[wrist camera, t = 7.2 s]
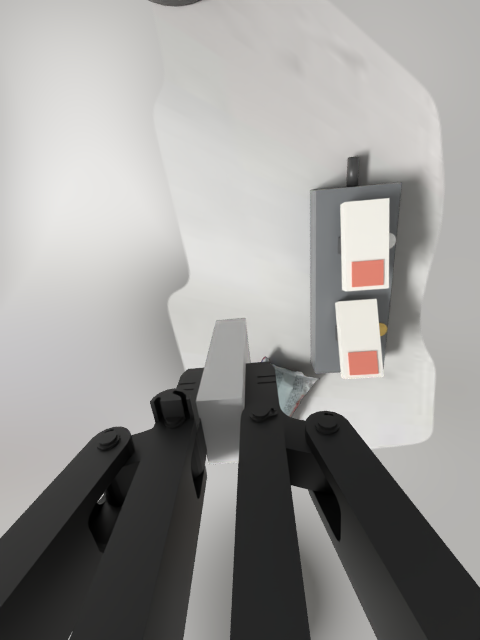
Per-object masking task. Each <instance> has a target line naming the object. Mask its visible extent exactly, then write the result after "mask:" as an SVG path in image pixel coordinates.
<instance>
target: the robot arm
mask: <svg viewBox="0 0 480 640" xmlns="http://www.w3.org/2000/svg"><path fill="white" fill-rule="evenodd" d="M149 1H151V2H154V3H157V4H161V5H167V6H182V5H188V4H191V3H194V2H197V1H199V0H149ZM150 404H151V408H152V411H153V414H154V419H155V425H154V427H153V428H152V429H150V430H147V431H144V432H141V433H138V434H134V435H131V434H130V432H129V430H128V429H127V428H124V427H112V428H109V429H106V430H104V431H102V432H100V433H98V434H97V435H96V436H95V437H93V438H92V439H91V440H90V441H89V442H88V444H87V445H86V446H85V447H84V448H83V449H82V450H81V451H80V452H79V453H78V454H77V456H76V457H75V458H74V459H73V460H72V461H71V462H70V463H69V464H68V465H67V466H66V468H65V469H64V470H63V471H62V472H61V473H60V474H59V475H58V476H57V477H56V478H55V479H54V481H53V482H52V483H51V484H50V485H49V486H48V487H47V488H46V489H45V490H44V491H43V493H42V494H41V495H40V496H39V497H38V498H37V499H36V500H35V501H34V502H33V503H32V505H31V506H30V507H29V508H28V509H27V510H26V511H25V513H23V514H22V515H21V516H20V518H19V519H18V520H17V521H16V522H15V523H14V524H13V525H12V526H11V527H10V528H9V530H8V531H7V532H6V533H5V534H4V535H3V536H2V537H1V538H0V640H68V638H69V636H70V635H71V637H70V639H69V640H183V637H184V630H185V623H186V616H187V610H188V603H189V596H190V589H191V582H192V575H193V569H194V562H195V555H196V548H197V541H198V535H199V528H200V521H201V514H202V507H203V500H204V493H205V487H206V480H207V473H206V467H205V461H206V455H207V458H208V463H209V464H218V463H235V462H239V464H238V484H237V485H238V486H237V506H236V526H235V547H234V568H233V569H234V570H233V589H232V610H231V631H230V633H231V635H230V640H311V639H310V631H309V624H308V616H307V608H306V601H305V592H304V585H303V577H302V569H301V562H300V554H299V546H298V538H297V531H296V523H295V515H294V507H293V500H292V492H291V485H293V486H297V487H301V488H305V489H308V491H309V494H310V496H311V498H312V500H313V503H314V505H315V507H316V509H317V511H318V513H319V515H320V518H321V520H322V522H323V524H324V526H325V528H326V530H327V533H328V535H329V537H330V539H331V541H332V543H333V545H334V548H335V550H336V552H337V554H338V556H339V558H340V560H341V562H342V565H343V567H344V569H345V571H346V573H347V575H348V577H349V580H350V582H351V584H352V586H353V588H354V590H355V592H356V594H357V596H358V599H359V601H360V603H361V605H362V607H363V610H364V612H365V614H366V616H367V618H368V620H369V622H370V624H371V626H372V629H373V631H374V633H375V635H376V637H377V639H378V640H480V587H479V586H478V585H477V584H476V582H475V581H474V580H473V579H472V577H471V576H470V575H469V573H468V572H467V571H466V570H465V569H464V567H463V566H462V565H461V563H460V562H459V561H458V560H457V559H456V557H455V556H454V554H453V553H452V552H451V551H450V549H449V548H448V547H447V546H446V545H445V543H444V542H443V541H442V539H441V538H440V537H439V536H438V534H437V533H436V532H435V530H434V529H433V528H432V527H431V526H430V524H429V523H428V522H427V520H426V519H425V518H424V516H423V515H422V514H421V513H420V512H419V510H418V509H417V508H416V506H415V505H414V504H413V503H412V501H411V500H410V499H409V497H408V496H407V495H406V494H405V493H404V491H403V490H402V489H401V487H400V486H399V485H398V484H397V482H396V481H395V480H394V478H393V477H392V476H391V475H390V473H389V472H388V471H387V470H386V468H385V467H384V466H383V465H382V463H381V462H380V461H379V459H378V458H377V457H376V456H375V455H374V453H373V452H372V451H371V449H370V448H369V447H368V446H367V444H366V443H365V442H364V440H363V439H362V438H361V437H360V435H359V434H358V433H357V432H356V430H355V429H354V428H353V427H352V425H351V424H350V423H349V421H348V420H347V419H345V418H344V417H343V416H342V415H340V414H337V413H335V412H330V411H320V412H316V413H313V414H311V415H310V416H309V417H308V418H307V419H306V421H304V420H298V419H294V418H292V417H289V416H287V415H286V414H285V413H284V412H283V411H282V410H281V408H280V404H279V397H278V389H277V382H276V374H275V367H274V366H273V365H272V364H271V363H270V362H257V363H251V361H250V353H249V344H248V336H247V327H246V319H245V318H238V319H227V320H217V321H216V324H215V327H214V331H213V335H212V339H211V343H210V347H209V351H208V355H207V359H206V363H205V367H204V368H195V369H188V370H186V371H185V372H184V373H183V374H182V375H181V377H180V380H179V383H178V385H177V388H176V389H169V390H166V391H163V392H161V393H159V394H157V395H156V396H155V397H153V399H152V400H151V401H150ZM103 493H104V495H103ZM102 495H103V497H102V498H101V499H100V497H101V496H102ZM99 499H100V500H99ZM98 500H99V501H98ZM72 631H73V632H72ZM71 633H72V634H71Z"/></svg>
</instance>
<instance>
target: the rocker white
mask: <svg viewBox="0 0 480 640" xmlns="http://www.w3.org/2000/svg"><path fill="white" fill-rule="evenodd" d="M340 215H341V263H342V290H343V291H358V290H372V289H386V288H389V198H385V199H374V200H362V201H351V202H344V203H342V204H341V205H340Z"/></svg>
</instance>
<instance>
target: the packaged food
mask: <svg viewBox="0 0 480 640" xmlns="http://www.w3.org/2000/svg"><path fill="white" fill-rule="evenodd" d="M261 362H269V359H268V358H267V357H264V358H263V359H262V361H261ZM272 365H273V366H274V367H275V374H276V382H277V389H278V397H279V404H280V408H281V410H282V411H283V412H284V413H285V414H286V415H287V416H289V417H292V415H293V412H294V411H295V410H296V408H297V407H298V405H299V404H300V403H301V400H302V397H304V396H305V395H306V393H307V392H308V391H309V390H310V388H311V387H312V385H313V384H314V383H315V382H316V381H317V380H318V379H320V378H318V377H308V376H306V375H304V374H303V373H302V372H298V371H296V372H294V371H290V370H289V369H285V368H281V367H277V366H276V365H275V364H272Z"/></svg>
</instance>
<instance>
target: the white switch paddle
mask: <svg viewBox="0 0 480 640" xmlns="http://www.w3.org/2000/svg"><path fill="white" fill-rule="evenodd" d="M335 309H336V321H337V333H338V345H339V357H340V369H341V377H342V378H344V379H355V378H372V377H384V373H383V362H382V352H381V341H380V330H379V319H378V308H377V299H367V300H353V301H339V302H336V303H335Z"/></svg>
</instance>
